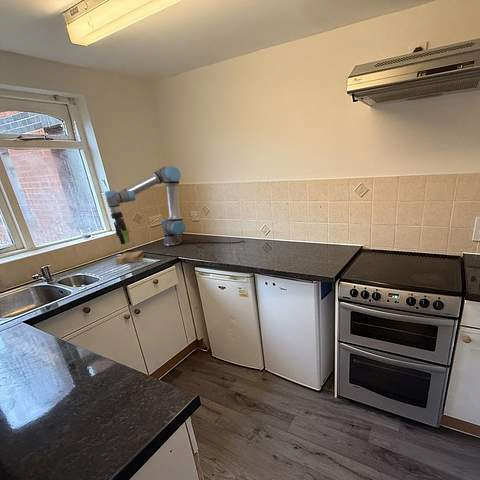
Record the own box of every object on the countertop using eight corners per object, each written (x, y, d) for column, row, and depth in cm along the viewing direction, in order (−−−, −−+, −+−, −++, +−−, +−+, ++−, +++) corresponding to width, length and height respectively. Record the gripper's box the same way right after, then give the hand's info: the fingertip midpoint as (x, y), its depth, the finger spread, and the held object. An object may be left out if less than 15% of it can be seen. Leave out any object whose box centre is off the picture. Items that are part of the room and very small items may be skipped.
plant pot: (121, 242, 230) (118, 231, 227) (133, 240, 231) (130, 229, 227) (116, 245, 221) (113, 233, 218) (129, 243, 222) (126, 232, 219)
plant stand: (144, 255, 241) (143, 250, 239) (138, 261, 226) (137, 256, 224) (124, 258, 239) (123, 253, 238) (117, 264, 225) (115, 259, 223)
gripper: (116, 211, 227) (124, 239, 235) (105, 215, 207) (115, 246, 216) (126, 209, 228) (134, 238, 236) (116, 214, 208) (125, 245, 216)
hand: (125, 242), depth 226 cm, fingers closed on plant pot, 8 cm apart
